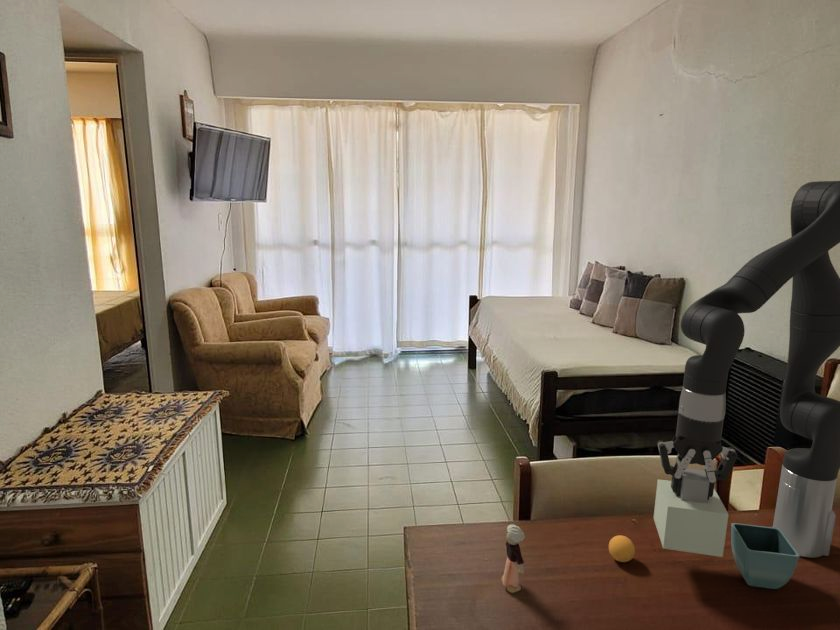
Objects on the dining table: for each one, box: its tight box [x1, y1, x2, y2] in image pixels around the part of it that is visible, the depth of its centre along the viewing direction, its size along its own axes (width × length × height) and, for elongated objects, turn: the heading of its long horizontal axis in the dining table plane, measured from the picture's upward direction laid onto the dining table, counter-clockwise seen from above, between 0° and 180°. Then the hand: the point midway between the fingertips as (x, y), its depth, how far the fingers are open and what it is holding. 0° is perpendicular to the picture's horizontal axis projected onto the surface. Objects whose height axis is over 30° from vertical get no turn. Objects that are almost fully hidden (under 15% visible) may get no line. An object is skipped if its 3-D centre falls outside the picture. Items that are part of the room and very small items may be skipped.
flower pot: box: [730, 522, 801, 590], centre depth 102 cm, size 9×9×9 cm
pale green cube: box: [653, 467, 729, 558], centre depth 103 cm, size 10×10×13 cm
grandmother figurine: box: [500, 524, 525, 594], centre depth 100 cm, size 8×4×13 cm, turn 23°
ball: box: [608, 534, 636, 563], centre depth 108 cm, size 5×5×5 cm
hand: (690, 495), depth 103 cm, fingers closed on pale green cube, 4 cm apart
